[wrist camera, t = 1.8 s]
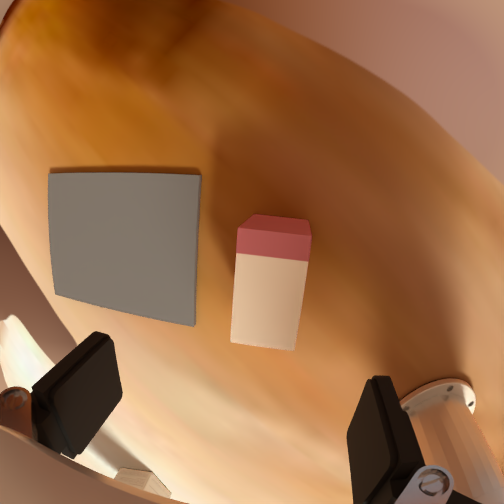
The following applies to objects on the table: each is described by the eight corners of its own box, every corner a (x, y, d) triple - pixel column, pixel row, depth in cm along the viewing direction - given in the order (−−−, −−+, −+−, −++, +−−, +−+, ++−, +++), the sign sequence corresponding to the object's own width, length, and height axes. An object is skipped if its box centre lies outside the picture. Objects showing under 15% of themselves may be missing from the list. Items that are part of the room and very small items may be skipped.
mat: (195, 324, 29) (193, 326, 28) (58, 292, 31) (55, 294, 31) (201, 175, 25) (199, 175, 25) (51, 173, 28) (48, 173, 27)
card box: (296, 309, 27) (294, 351, 20) (246, 303, 28) (229, 342, 21) (308, 219, 25) (312, 236, 18) (253, 213, 26) (237, 227, 19)
